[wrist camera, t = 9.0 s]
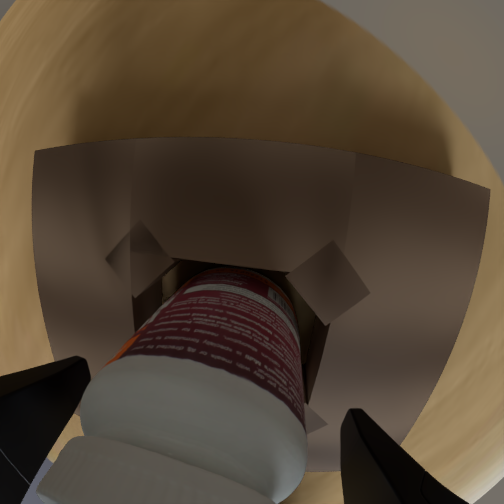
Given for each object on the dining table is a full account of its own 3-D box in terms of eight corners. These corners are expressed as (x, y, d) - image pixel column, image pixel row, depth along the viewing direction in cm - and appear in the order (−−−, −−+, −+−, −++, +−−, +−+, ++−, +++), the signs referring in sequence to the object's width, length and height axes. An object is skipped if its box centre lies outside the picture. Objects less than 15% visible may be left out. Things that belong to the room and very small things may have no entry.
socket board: (375, 435, 14) (383, 467, 11) (94, 389, 16) (74, 413, 13) (453, 187, 10) (490, 189, 8) (72, 153, 12) (34, 150, 9)
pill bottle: (176, 254, 13) (-39, 407, 2) (308, 273, 12) (369, 555, 1) (175, 361, 14) (73, 531, 3) (286, 380, 14) (275, 588, 3)
